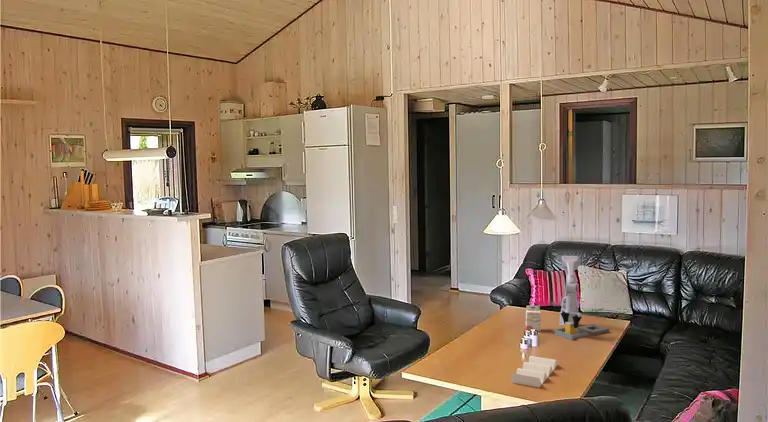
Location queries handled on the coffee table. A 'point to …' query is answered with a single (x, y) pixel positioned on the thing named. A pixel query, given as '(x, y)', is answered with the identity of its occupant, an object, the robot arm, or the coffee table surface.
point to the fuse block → (593, 329)
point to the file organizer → (534, 371)
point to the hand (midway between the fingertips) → (570, 326)
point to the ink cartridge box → (533, 318)
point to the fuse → (570, 328)
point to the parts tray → (572, 337)
